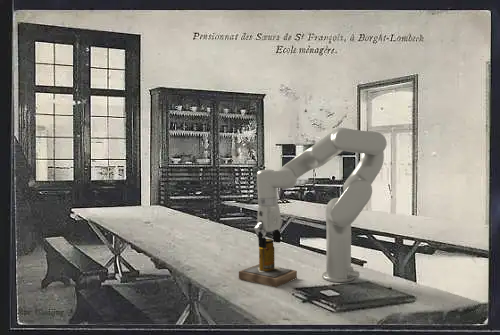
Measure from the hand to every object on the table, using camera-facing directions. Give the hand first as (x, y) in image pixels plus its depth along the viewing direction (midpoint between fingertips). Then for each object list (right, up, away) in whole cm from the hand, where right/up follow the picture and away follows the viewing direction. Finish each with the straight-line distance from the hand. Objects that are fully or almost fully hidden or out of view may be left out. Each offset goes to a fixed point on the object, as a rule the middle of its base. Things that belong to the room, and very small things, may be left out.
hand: (269, 244), depth 219 cm
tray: (-1, -14, +1) cm, 14 cm away
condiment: (0, -10, +1) cm, 10 cm away
